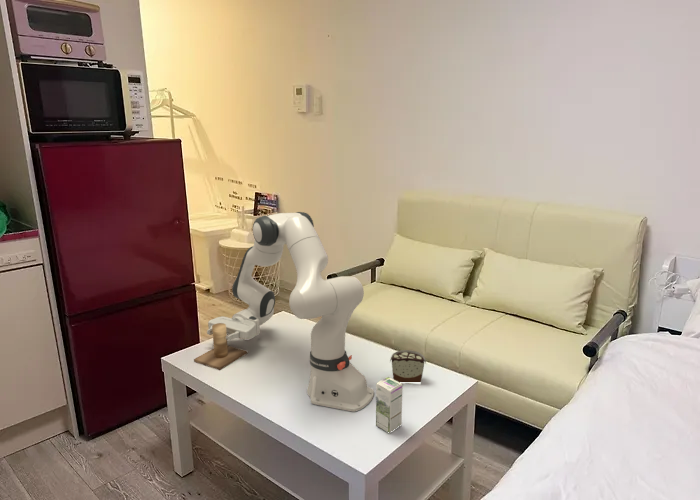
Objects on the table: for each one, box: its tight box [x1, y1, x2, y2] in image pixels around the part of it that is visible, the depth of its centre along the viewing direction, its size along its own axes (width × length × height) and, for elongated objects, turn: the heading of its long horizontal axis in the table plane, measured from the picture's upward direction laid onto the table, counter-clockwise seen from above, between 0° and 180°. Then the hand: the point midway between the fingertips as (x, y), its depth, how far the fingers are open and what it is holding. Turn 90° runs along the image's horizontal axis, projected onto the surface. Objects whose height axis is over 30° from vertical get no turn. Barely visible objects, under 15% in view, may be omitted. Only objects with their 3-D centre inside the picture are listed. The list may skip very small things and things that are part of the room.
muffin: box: [389, 349, 427, 383], centre depth 176 cm, size 12×6×10 cm, turn 84°
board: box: [193, 344, 248, 371], centre depth 192 cm, size 13×15×1 cm
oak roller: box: [212, 323, 228, 358], centre depth 191 cm, size 5×5×12 cm
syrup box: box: [375, 376, 403, 434], centre depth 149 cm, size 6×6×14 cm
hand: (217, 335), depth 189 cm, fingers open, 8 cm apart
